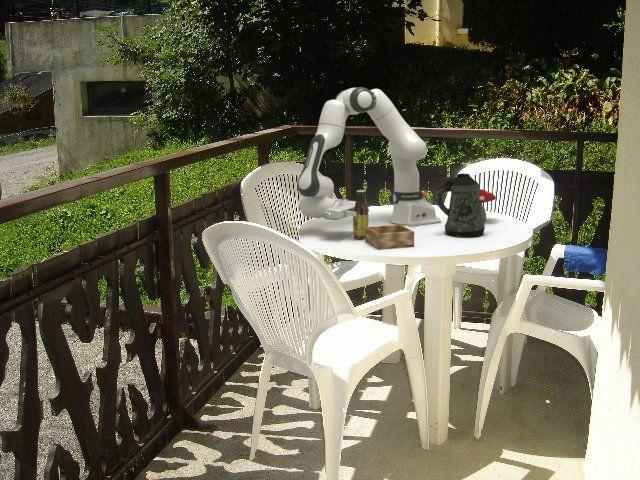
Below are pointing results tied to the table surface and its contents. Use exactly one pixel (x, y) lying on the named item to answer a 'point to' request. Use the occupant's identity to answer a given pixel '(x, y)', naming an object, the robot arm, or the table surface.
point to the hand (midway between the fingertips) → (362, 212)
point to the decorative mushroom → (484, 197)
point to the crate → (389, 236)
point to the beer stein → (462, 207)
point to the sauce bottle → (360, 215)
